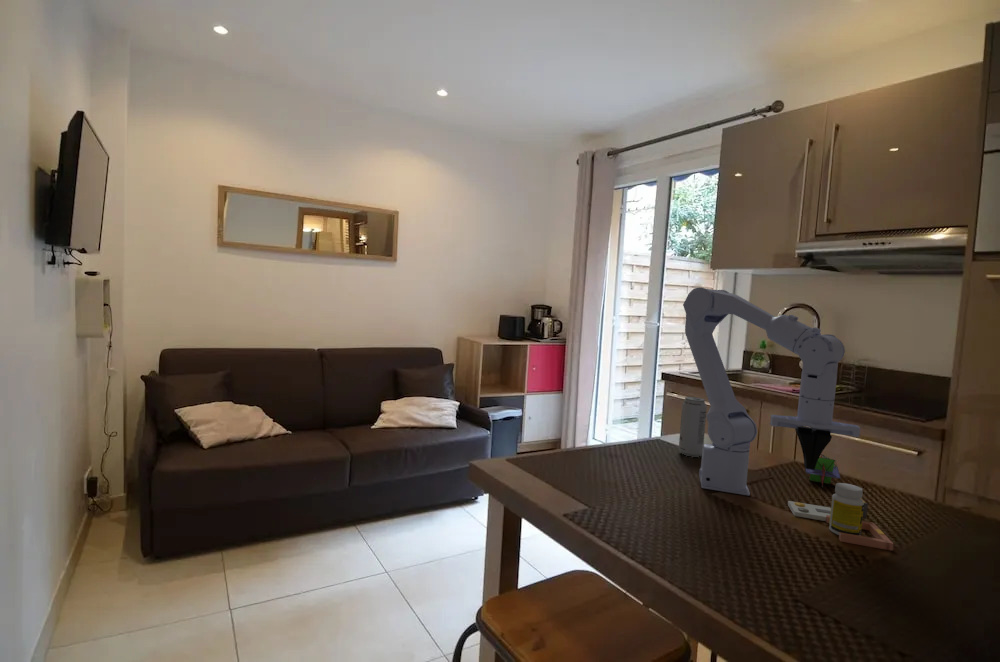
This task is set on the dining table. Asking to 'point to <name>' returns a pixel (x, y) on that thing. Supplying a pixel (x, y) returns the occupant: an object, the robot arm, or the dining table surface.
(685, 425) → the energy drink can
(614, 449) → the dining table surface
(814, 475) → the geometric puzzle
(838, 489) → the supplement bottle
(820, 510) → the panel
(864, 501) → the block
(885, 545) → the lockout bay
